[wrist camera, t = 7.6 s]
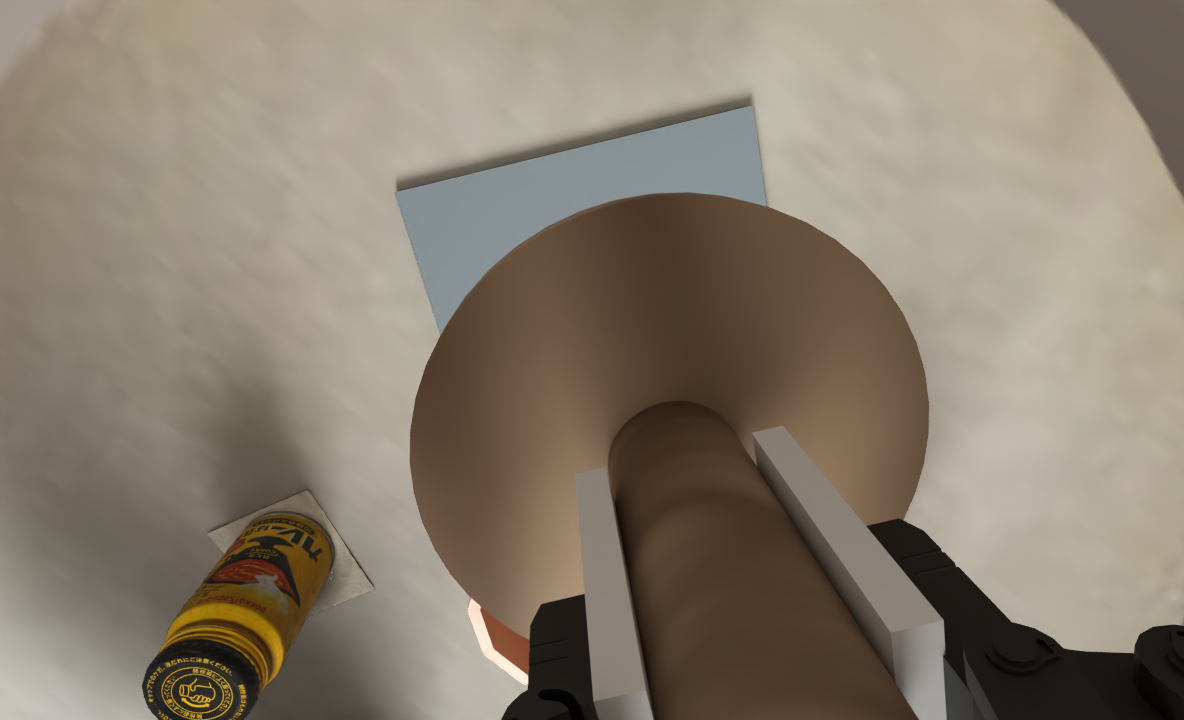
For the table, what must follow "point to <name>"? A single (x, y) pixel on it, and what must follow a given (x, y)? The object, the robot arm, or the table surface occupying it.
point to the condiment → (250, 611)
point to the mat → (568, 195)
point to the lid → (677, 441)
